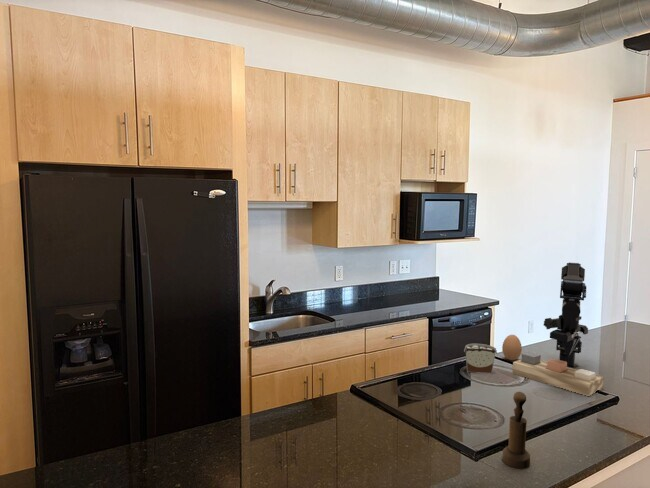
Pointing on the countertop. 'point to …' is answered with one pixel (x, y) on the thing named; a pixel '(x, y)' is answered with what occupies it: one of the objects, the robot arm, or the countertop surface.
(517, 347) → the egg
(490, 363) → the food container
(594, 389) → the key panel
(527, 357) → the charcoal key
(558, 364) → the terracotta key
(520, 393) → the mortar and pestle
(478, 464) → the countertop surface
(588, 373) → the cream key
